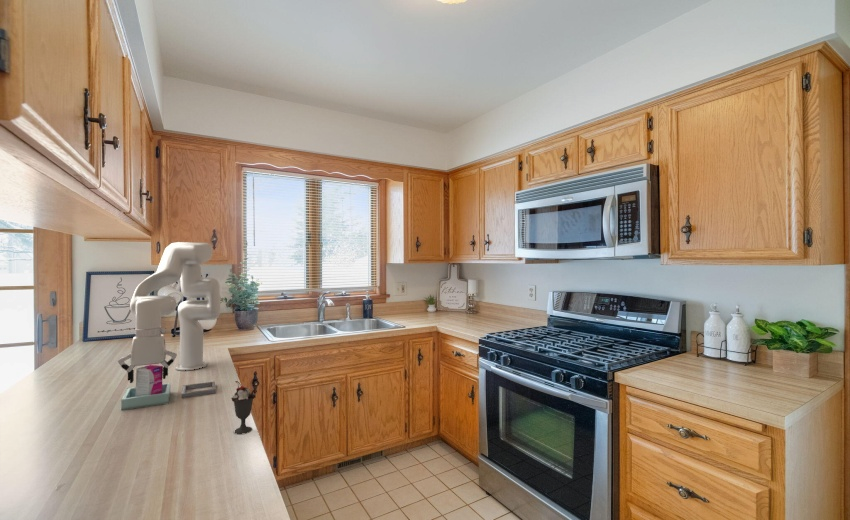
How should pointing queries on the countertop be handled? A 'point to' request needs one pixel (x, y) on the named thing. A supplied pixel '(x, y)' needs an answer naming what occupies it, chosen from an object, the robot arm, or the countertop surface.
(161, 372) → the supplement box
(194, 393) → the collar
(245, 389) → the sundae
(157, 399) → the bin
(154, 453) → the countertop surface
